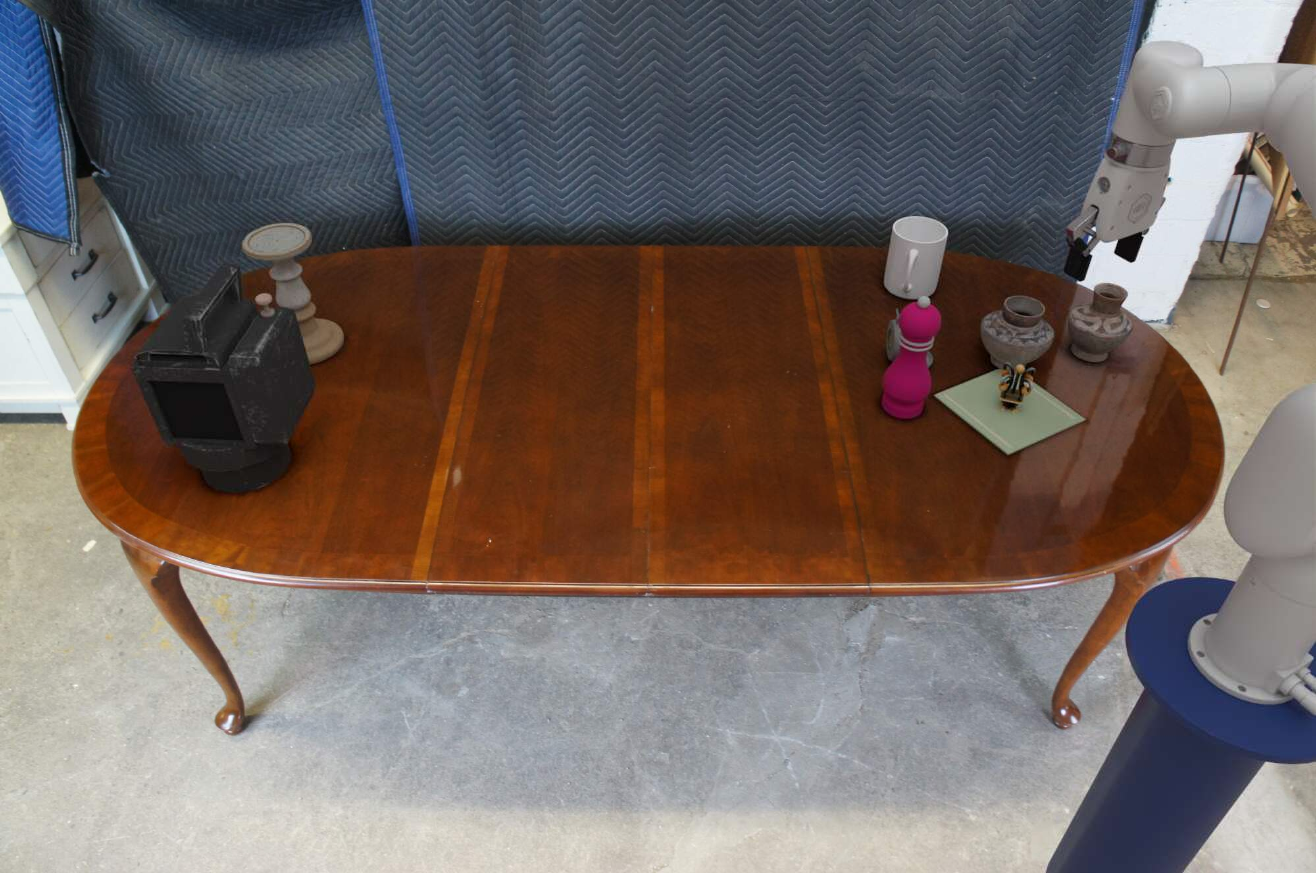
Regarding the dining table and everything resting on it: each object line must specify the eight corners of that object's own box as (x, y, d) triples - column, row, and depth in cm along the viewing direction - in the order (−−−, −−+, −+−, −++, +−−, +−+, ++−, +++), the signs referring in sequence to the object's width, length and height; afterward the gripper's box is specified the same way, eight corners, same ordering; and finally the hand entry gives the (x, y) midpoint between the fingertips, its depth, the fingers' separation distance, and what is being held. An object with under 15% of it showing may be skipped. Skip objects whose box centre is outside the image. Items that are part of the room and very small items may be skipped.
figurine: (987, 411, 151) (1004, 370, 146) (991, 393, 154) (1008, 352, 149) (1019, 420, 150) (1037, 379, 144) (1022, 402, 153) (1040, 361, 148)
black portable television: (217, 428, 149) (150, 254, 129) (333, 432, 148) (284, 258, 128) (174, 497, 137) (94, 318, 118) (299, 503, 137) (240, 323, 117)
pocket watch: (940, 365, 161) (952, 314, 154) (901, 382, 157) (912, 330, 151) (905, 341, 166) (915, 290, 159) (867, 356, 162) (876, 305, 156)
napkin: (1085, 420, 150) (1085, 419, 150) (1007, 455, 144) (1008, 453, 144) (1008, 366, 160) (1009, 364, 160) (933, 396, 154) (934, 394, 154)
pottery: (1134, 369, 160) (1159, 306, 152) (991, 385, 156) (1009, 321, 148) (1097, 331, 168) (1119, 269, 161) (961, 345, 164) (976, 283, 157)
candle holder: (353, 324, 170) (327, 219, 156) (333, 367, 160) (304, 259, 147) (282, 324, 170) (250, 218, 156) (258, 366, 160) (222, 258, 147)
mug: (932, 274, 182) (944, 217, 174) (940, 310, 173) (953, 252, 165) (881, 272, 182) (890, 215, 175) (885, 307, 173) (896, 249, 166)
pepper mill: (874, 415, 151) (895, 305, 138) (882, 388, 156) (902, 279, 143) (922, 425, 149) (948, 315, 136) (928, 397, 154) (953, 288, 141)
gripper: (1115, 175, 117) (1075, 297, 128) (1211, 144, 123) (1165, 263, 134) (1066, 151, 122) (1032, 271, 133) (1161, 122, 128) (1120, 239, 139)
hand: (1099, 267), depth 134 cm, fingers open, 9 cm apart
